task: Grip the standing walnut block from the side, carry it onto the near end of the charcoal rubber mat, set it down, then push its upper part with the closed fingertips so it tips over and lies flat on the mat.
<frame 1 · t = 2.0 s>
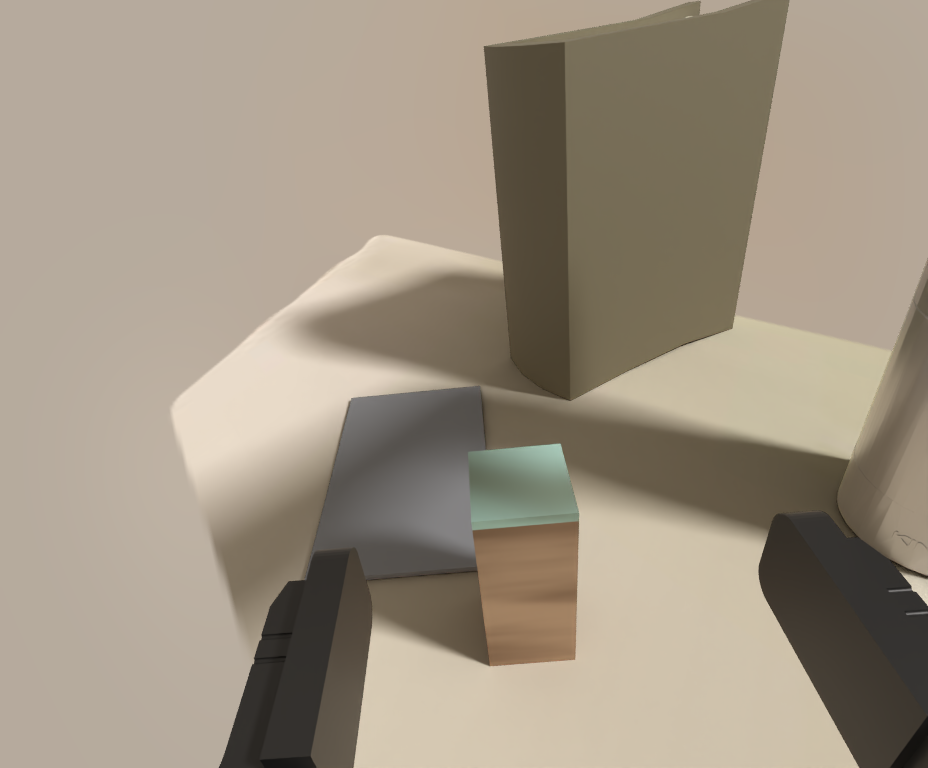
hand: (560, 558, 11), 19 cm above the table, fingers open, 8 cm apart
rubber mat: (409, 468, 42), on the table
walnut block: (527, 623, 31), on the table
book: (616, 347, 55), on the table
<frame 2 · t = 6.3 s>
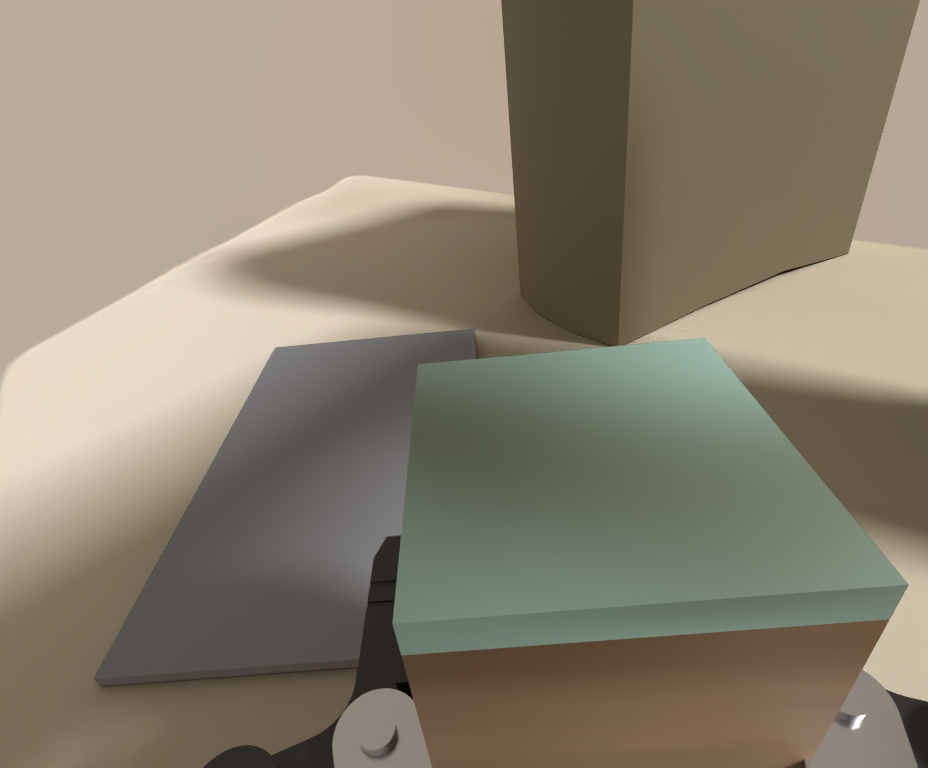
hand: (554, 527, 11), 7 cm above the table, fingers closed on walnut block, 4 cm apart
rubber mat: (350, 451, 24), on the table
book: (677, 279, 37), on the table
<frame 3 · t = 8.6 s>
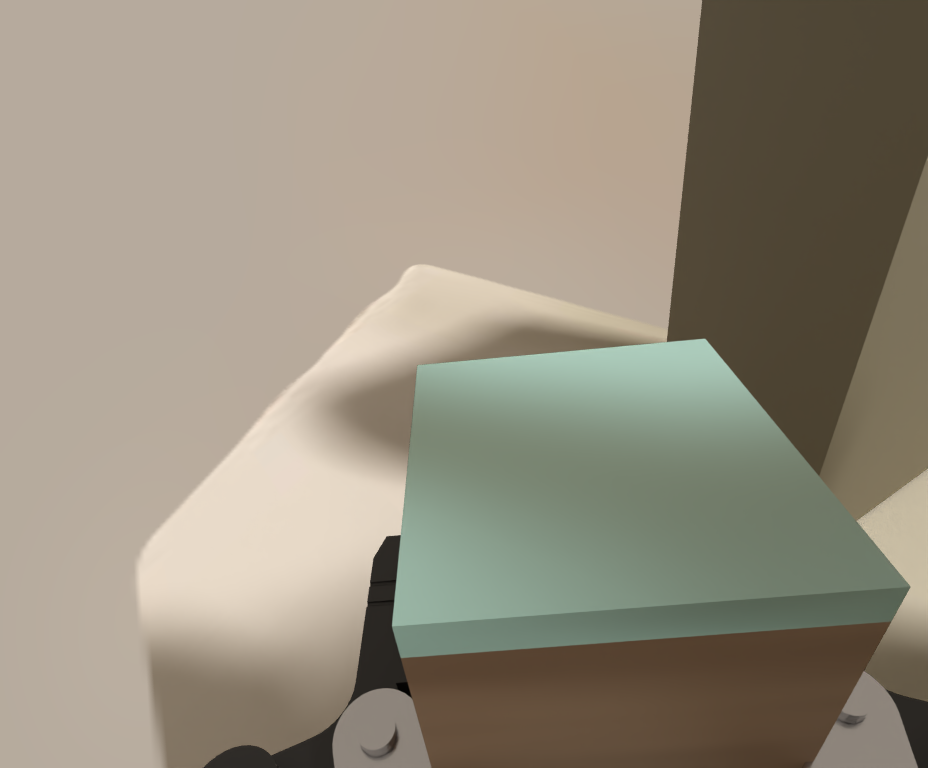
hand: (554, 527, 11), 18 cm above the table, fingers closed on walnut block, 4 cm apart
book: (811, 467, 36), on the table
when the fingers open (7 cm above the table, at t = 10.8 s): walnut block stays where it is, resting on rubber mat.
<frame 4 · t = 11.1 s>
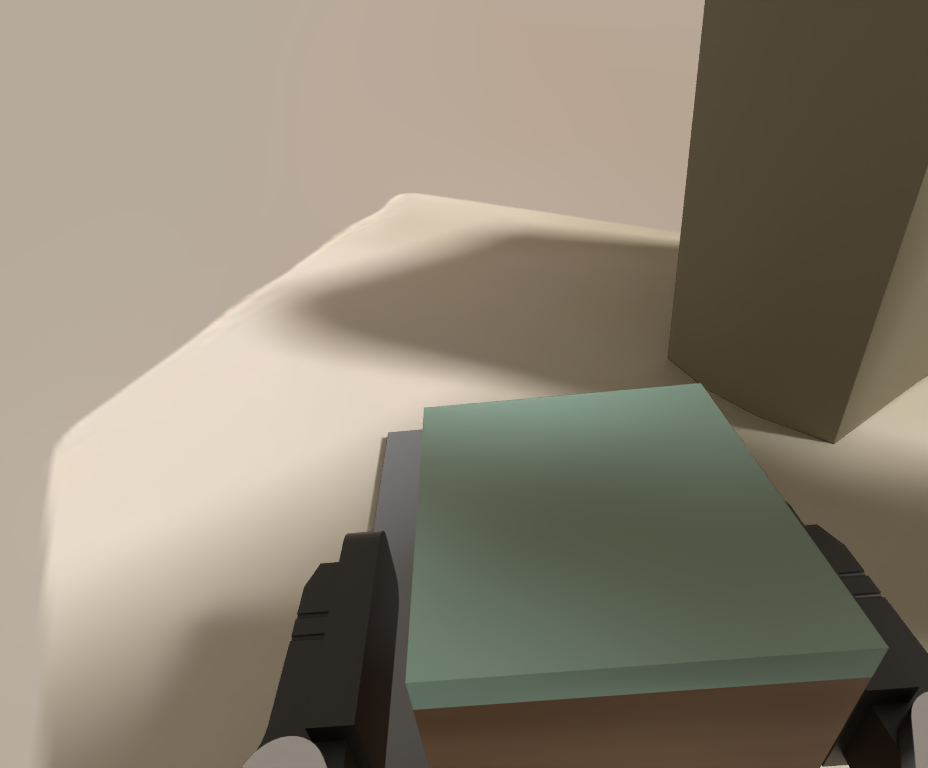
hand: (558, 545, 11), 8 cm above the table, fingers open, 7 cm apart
rubber mat: (539, 610, 18), on the table
book: (854, 339, 31), on the table
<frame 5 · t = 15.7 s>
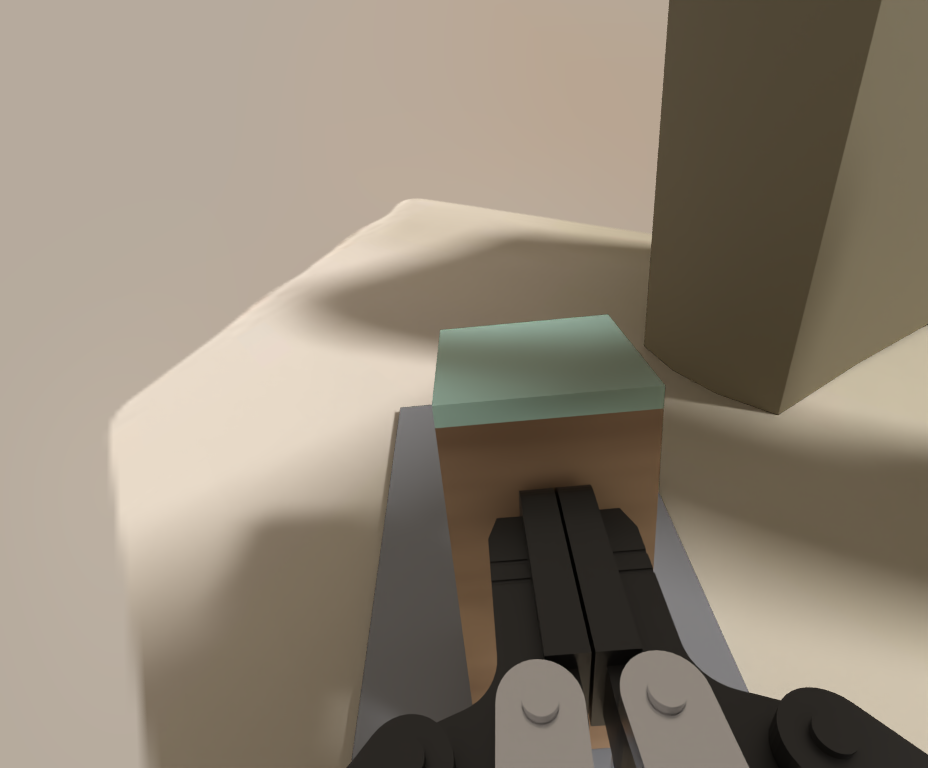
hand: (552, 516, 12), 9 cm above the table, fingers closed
rubber mat: (525, 541, 23), on the table
walnut block: (548, 677, 17), point 1 cm above the table, tilted 8°, touching gripper, rubber mat
book: (808, 330, 35), on the table
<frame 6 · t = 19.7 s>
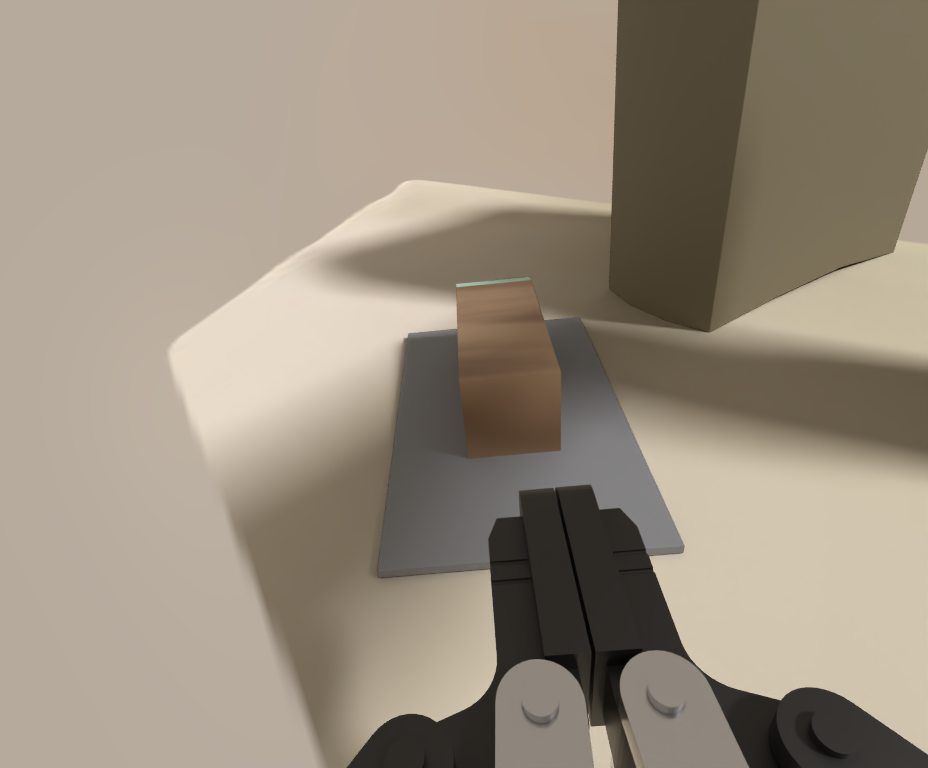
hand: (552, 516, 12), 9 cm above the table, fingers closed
rubber mat: (506, 414, 30), on the table
walnut block: (512, 417, 25), point 3 cm above the table, tilted 90°, touching rubber mat
book: (745, 275, 42), on the table
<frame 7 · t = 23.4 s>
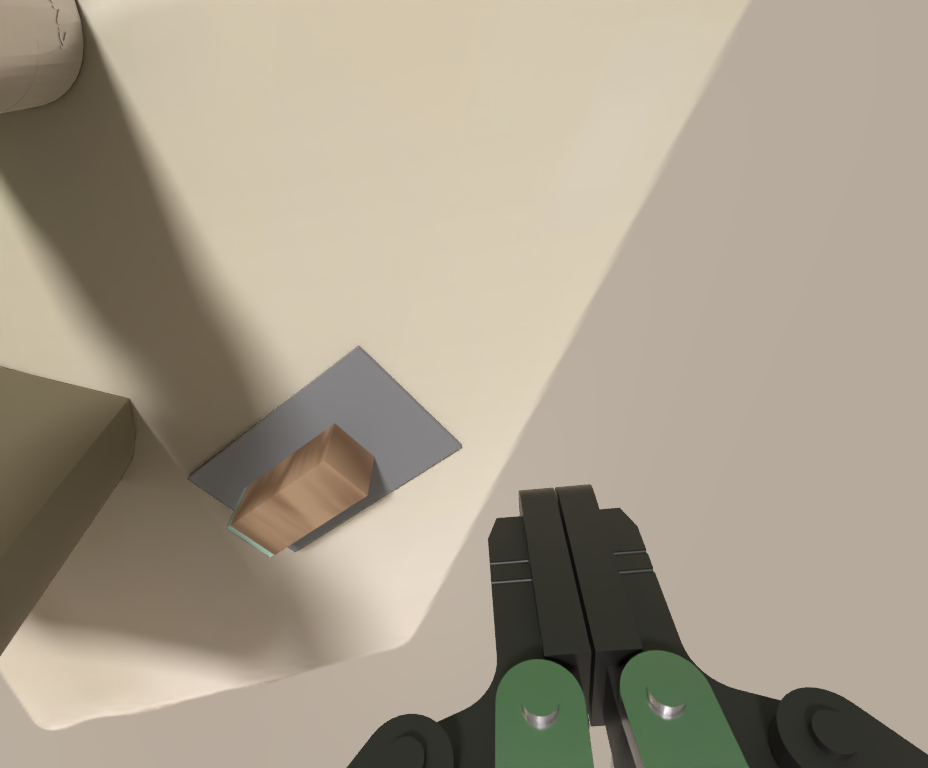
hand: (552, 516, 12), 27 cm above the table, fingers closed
rubber mat: (323, 460, 46), on the table
walnut block: (350, 458, 42), point 3 cm above the table, tilted 90°, touching rubber mat
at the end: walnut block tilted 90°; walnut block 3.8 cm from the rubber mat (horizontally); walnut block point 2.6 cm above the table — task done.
